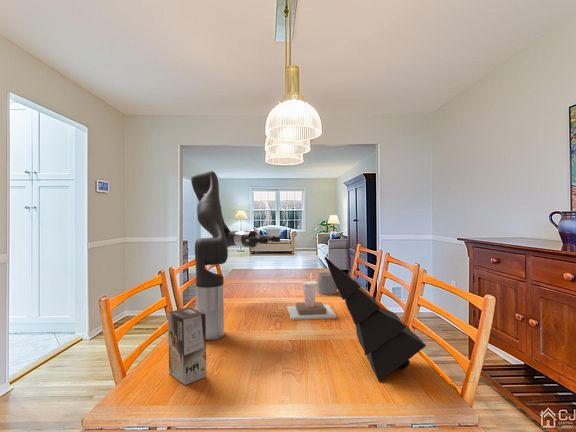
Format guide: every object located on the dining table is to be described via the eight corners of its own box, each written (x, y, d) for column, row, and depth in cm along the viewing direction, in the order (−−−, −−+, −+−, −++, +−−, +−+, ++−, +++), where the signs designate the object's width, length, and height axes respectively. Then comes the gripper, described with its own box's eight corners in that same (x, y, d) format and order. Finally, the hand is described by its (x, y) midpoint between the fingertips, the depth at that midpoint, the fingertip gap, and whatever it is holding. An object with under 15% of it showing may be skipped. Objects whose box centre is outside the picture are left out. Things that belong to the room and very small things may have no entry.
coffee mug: (318, 295, 168) (318, 275, 168) (316, 290, 178) (316, 272, 178) (344, 295, 168) (344, 275, 168) (341, 290, 178) (341, 271, 178)
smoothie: (316, 308, 134) (316, 273, 134) (301, 307, 135) (300, 273, 135) (318, 304, 140) (318, 271, 140) (303, 303, 141) (303, 270, 141)
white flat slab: (336, 318, 131) (336, 310, 131) (291, 319, 129) (290, 312, 129) (327, 306, 146) (327, 300, 146) (287, 308, 145) (287, 301, 145)
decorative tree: (374, 368, 95) (302, 268, 96) (417, 338, 94) (343, 238, 95) (388, 395, 80) (302, 278, 81) (438, 360, 80) (351, 242, 81)
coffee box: (207, 376, 84) (207, 313, 84) (184, 386, 80) (183, 319, 80) (190, 365, 91) (189, 306, 91) (167, 373, 86) (166, 311, 86)
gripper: (235, 231, 148) (263, 232, 138) (256, 230, 159) (283, 230, 150) (235, 248, 148) (263, 250, 138) (256, 245, 159) (283, 247, 150)
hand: (273, 240), depth 144 cm, fingers open, 8 cm apart
